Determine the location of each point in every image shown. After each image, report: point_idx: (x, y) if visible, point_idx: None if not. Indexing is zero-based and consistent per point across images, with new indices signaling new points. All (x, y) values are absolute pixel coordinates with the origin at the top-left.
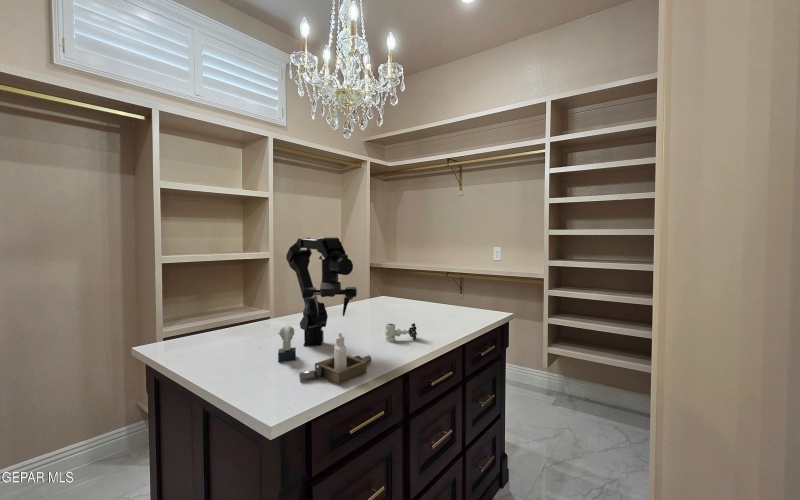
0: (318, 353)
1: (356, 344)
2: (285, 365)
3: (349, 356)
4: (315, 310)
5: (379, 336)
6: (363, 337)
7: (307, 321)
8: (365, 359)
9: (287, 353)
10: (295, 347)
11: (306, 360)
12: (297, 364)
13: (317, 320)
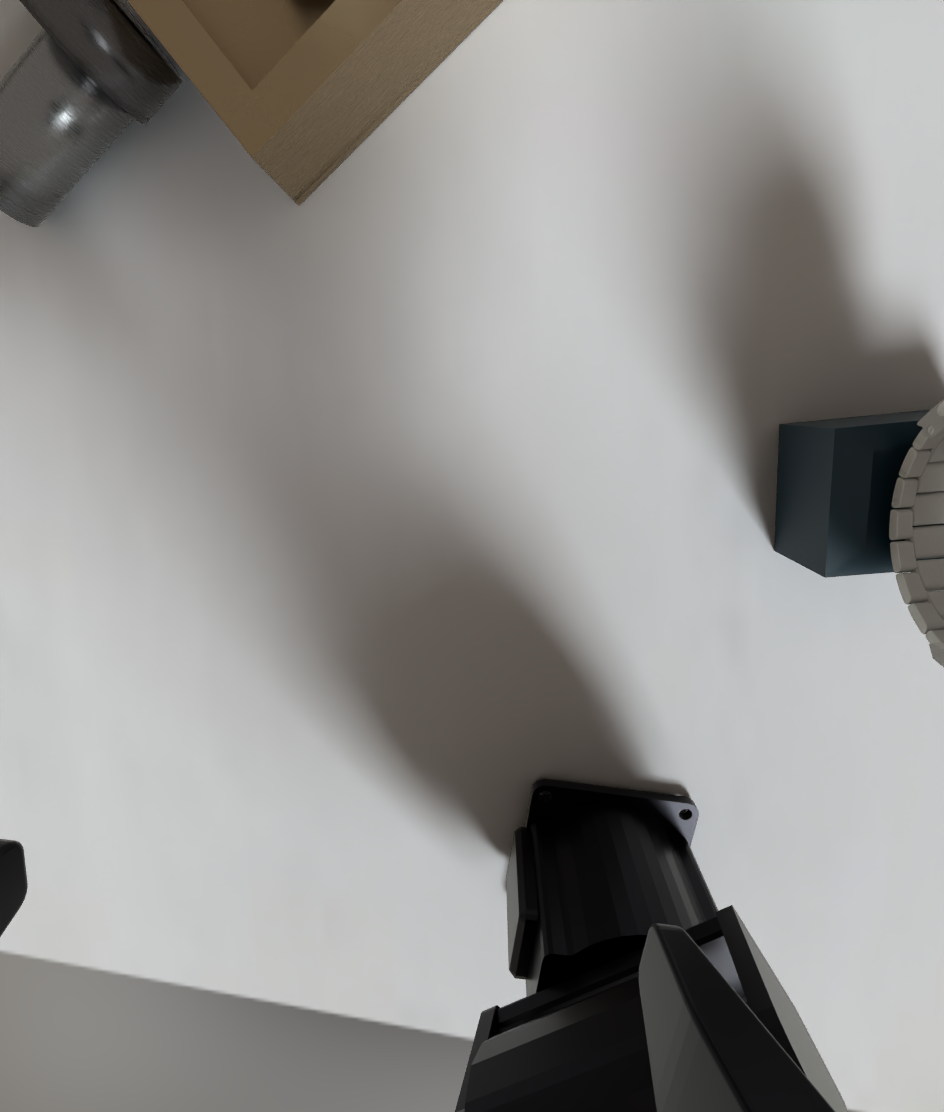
0: (552, 582)
1: (199, 752)
2: (888, 298)
3: (154, 18)
4: (801, 1103)
5: None
6: (148, 915)
7: (779, 1017)
8: (2, 81)
9: (920, 418)
10: (826, 572)
11: (671, 405)
12: (765, 303)
13: (610, 1032)
